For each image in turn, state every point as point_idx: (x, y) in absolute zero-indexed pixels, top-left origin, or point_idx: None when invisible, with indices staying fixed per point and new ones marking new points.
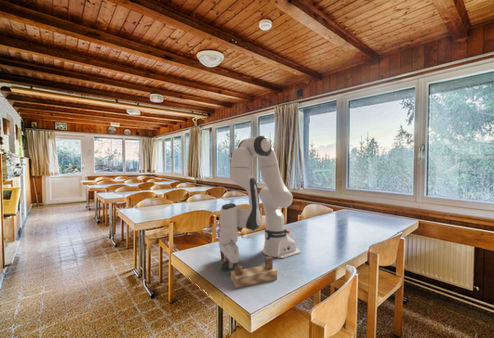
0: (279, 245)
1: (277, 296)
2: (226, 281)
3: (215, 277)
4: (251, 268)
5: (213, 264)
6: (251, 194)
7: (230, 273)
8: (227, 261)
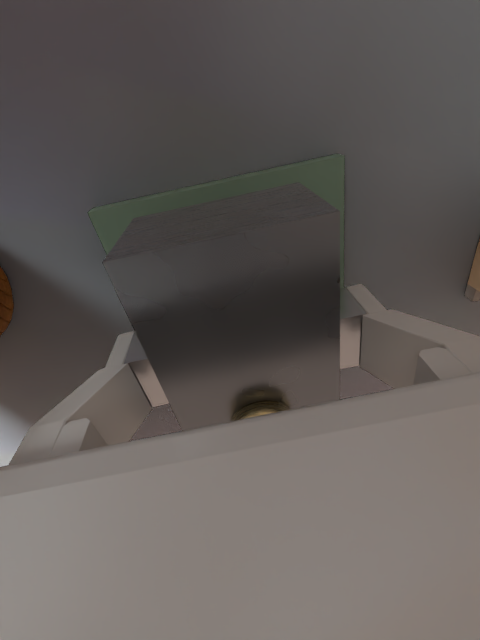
0: None
1: None
2: (463, 322)
3: (347, 397)
4: None
5: None
6: None
7: (341, 277)
8: (302, 395)
